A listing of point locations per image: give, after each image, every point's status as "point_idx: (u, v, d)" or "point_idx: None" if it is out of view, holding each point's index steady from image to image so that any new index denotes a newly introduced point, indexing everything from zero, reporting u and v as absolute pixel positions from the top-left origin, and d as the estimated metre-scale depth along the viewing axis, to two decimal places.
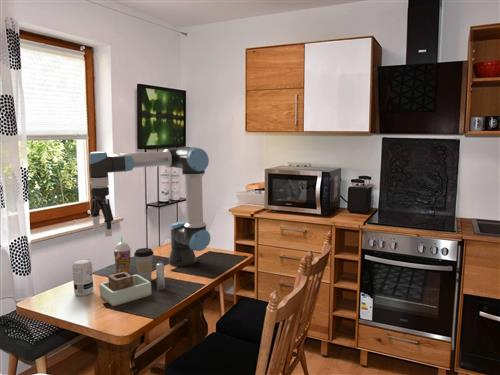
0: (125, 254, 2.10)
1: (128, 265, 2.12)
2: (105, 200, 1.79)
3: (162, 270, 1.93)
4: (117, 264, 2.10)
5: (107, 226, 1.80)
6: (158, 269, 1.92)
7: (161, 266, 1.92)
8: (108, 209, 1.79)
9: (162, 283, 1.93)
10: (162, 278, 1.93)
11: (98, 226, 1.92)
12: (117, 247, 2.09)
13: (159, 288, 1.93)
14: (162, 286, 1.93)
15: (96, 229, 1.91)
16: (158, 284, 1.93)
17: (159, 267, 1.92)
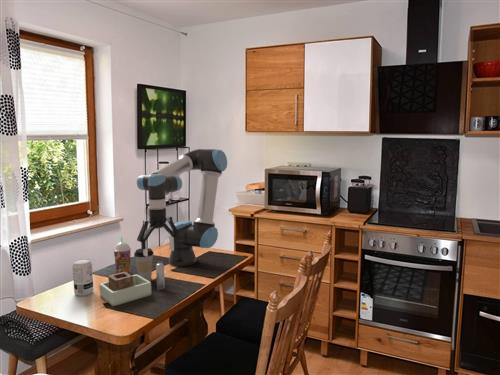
0: (125, 254, 2.10)
1: (128, 265, 2.12)
2: (144, 221, 1.86)
3: (162, 270, 1.93)
4: (117, 264, 2.10)
5: None
6: (158, 269, 1.92)
7: (161, 266, 1.92)
8: (142, 229, 1.85)
9: (162, 283, 1.93)
10: (162, 278, 1.93)
11: (171, 246, 1.96)
12: (117, 247, 2.09)
13: (159, 288, 1.93)
14: (162, 286, 1.93)
15: (170, 248, 1.97)
16: (158, 284, 1.93)
17: (159, 267, 1.92)
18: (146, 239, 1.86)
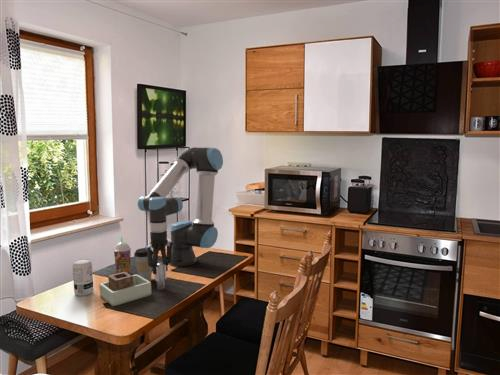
0: (125, 254, 2.10)
1: (128, 265, 2.12)
2: (146, 248, 1.88)
3: (162, 270, 1.93)
4: (117, 264, 2.10)
5: None
6: (158, 269, 1.92)
7: (161, 266, 1.92)
8: (148, 256, 1.89)
9: (162, 283, 1.93)
10: (162, 278, 1.93)
11: (164, 274, 1.95)
12: (117, 247, 2.09)
13: (159, 288, 1.93)
14: (162, 286, 1.94)
15: None
16: (158, 284, 1.93)
17: (159, 267, 1.92)
18: (156, 264, 1.91)
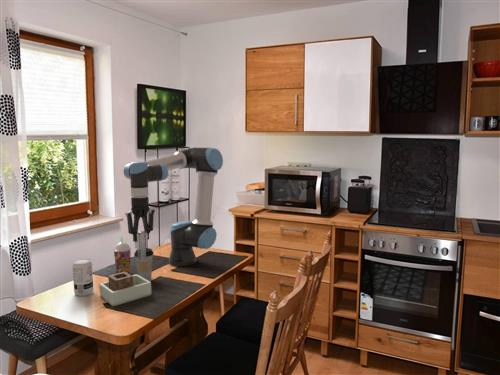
0: (125, 254, 2.10)
1: (128, 265, 2.12)
2: (126, 214, 1.81)
3: (143, 238, 1.86)
4: (117, 264, 2.10)
5: None
6: (139, 237, 1.85)
7: (142, 234, 1.85)
8: (128, 222, 1.82)
9: (143, 252, 1.86)
10: (143, 246, 1.86)
11: None
12: (117, 247, 2.09)
13: (140, 257, 1.86)
14: (143, 255, 1.86)
15: None
16: (139, 253, 1.86)
17: (140, 235, 1.85)
18: (137, 231, 1.84)
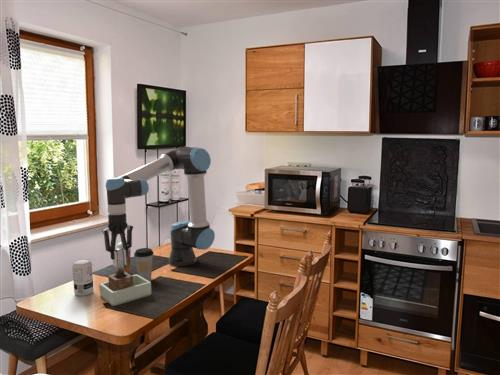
0: None
1: (128, 265, 2.12)
2: (103, 231, 1.77)
3: (121, 255, 1.82)
4: None
5: None
6: None
7: (120, 251, 1.81)
8: (105, 240, 1.78)
9: (121, 269, 1.82)
10: (121, 264, 1.82)
11: (124, 260, 1.84)
12: (117, 247, 2.09)
13: (118, 274, 1.82)
14: (121, 272, 1.82)
15: None
16: (117, 270, 1.82)
17: (118, 252, 1.81)
18: (114, 248, 1.80)
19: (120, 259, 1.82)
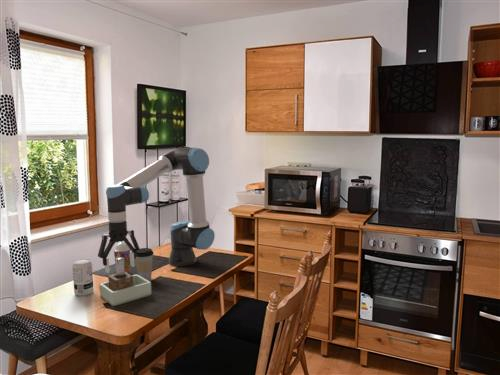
0: (125, 254, 2.10)
1: (128, 265, 2.12)
2: (102, 235, 1.77)
3: (122, 265, 1.83)
4: None
5: None
6: (117, 263, 1.82)
7: (121, 260, 1.82)
8: (101, 245, 1.77)
9: None
10: (122, 273, 1.83)
11: (132, 262, 1.87)
12: (117, 247, 2.09)
13: None
14: None
15: (131, 264, 1.87)
16: None
17: (119, 261, 1.82)
18: (107, 255, 1.78)
19: (121, 268, 1.82)
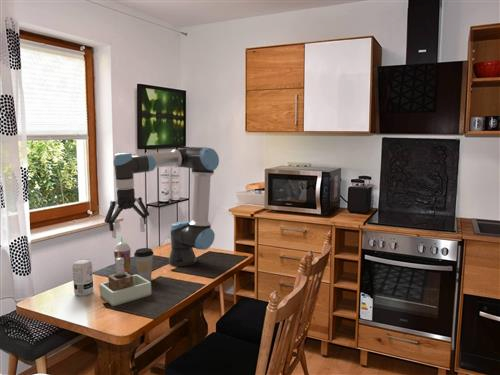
0: (125, 254, 2.10)
1: (128, 265, 2.12)
2: (111, 201, 1.80)
3: (122, 265, 1.82)
4: None
5: None
6: (117, 264, 1.82)
7: (120, 261, 1.82)
8: (109, 211, 1.79)
9: None
10: (122, 274, 1.83)
11: (142, 228, 1.90)
12: (117, 247, 2.09)
13: None
14: None
15: (141, 230, 1.91)
16: None
17: (118, 262, 1.82)
18: (114, 220, 1.80)
19: (121, 269, 1.82)
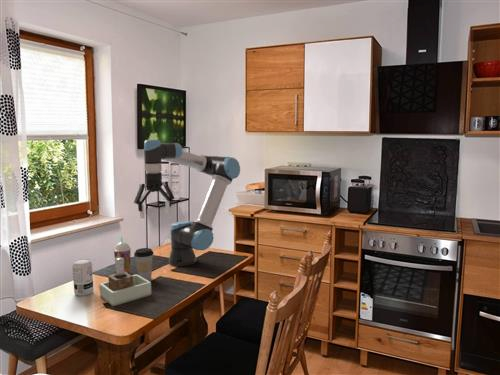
0: (125, 254, 2.10)
1: (128, 265, 2.12)
2: (140, 184, 1.94)
3: (122, 265, 1.83)
4: None
5: None
6: (117, 264, 1.82)
7: (120, 261, 1.82)
8: (138, 192, 1.93)
9: None
10: (122, 273, 1.83)
11: (167, 210, 2.04)
12: (117, 247, 2.09)
13: None
14: None
15: (166, 212, 2.05)
16: None
17: (118, 261, 1.82)
18: None
19: (121, 269, 1.82)
